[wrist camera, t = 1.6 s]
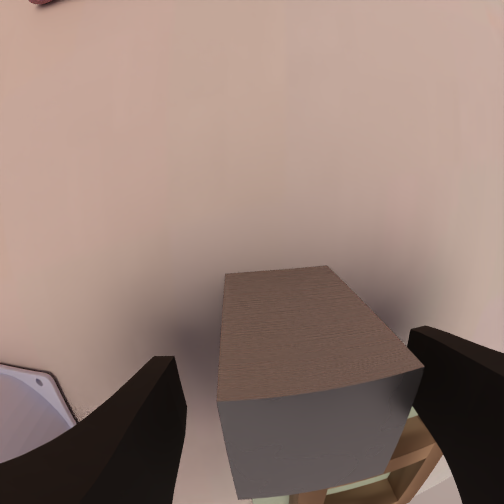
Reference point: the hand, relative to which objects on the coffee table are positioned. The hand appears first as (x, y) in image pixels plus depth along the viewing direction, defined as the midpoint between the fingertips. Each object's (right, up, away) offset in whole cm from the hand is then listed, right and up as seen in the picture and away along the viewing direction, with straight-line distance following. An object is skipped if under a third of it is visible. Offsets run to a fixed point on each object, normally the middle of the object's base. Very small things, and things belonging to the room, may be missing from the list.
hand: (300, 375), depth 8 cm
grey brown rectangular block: (0, +1, +4) cm, 4 cm away
